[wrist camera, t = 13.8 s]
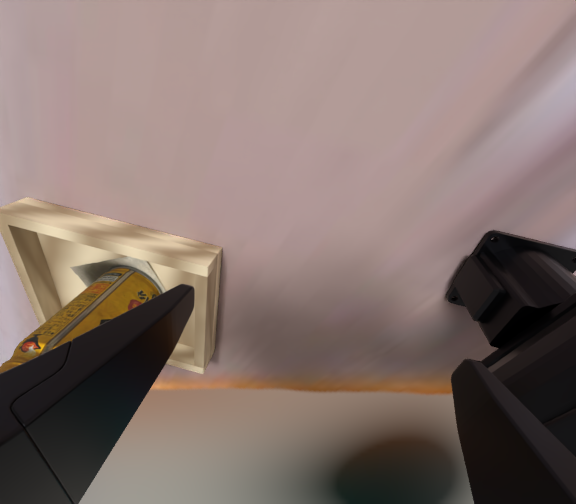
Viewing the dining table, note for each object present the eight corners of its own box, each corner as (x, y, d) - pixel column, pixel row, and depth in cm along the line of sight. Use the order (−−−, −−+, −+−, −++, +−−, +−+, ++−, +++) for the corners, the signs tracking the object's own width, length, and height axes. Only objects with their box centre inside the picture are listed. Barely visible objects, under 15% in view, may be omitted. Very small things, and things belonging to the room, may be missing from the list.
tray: (222, 247, 24) (207, 267, 22) (214, 350, 32) (203, 374, 29) (27, 197, 25) (-9, 210, 22) (65, 309, 33) (41, 329, 30)
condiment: (180, 314, 28) (89, 446, 18) (114, 320, 31) (0, 440, 20) (144, 252, 25) (6, 371, 15) (72, 265, 27) (-89, 375, 17)
